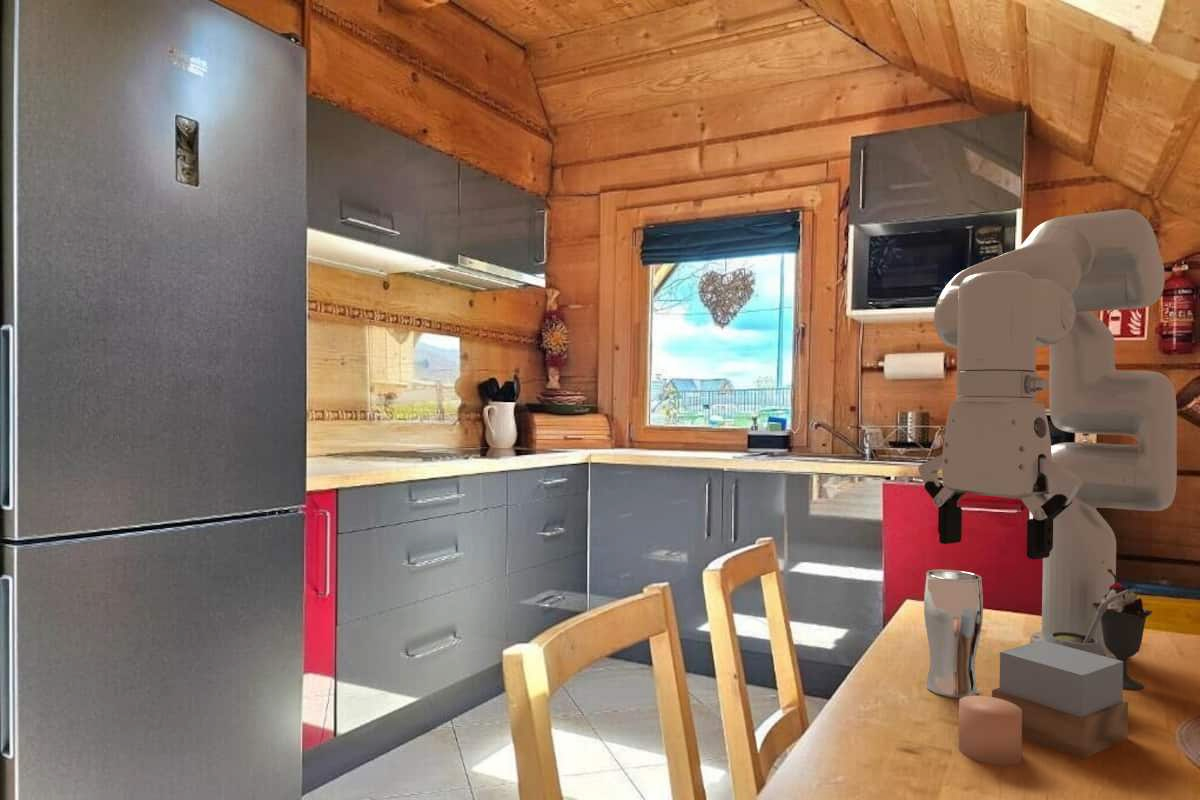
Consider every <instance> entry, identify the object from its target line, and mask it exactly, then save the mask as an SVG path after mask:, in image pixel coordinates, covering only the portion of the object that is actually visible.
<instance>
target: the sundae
mask: <svg viewBox="0 0 1200 800" xmlns="http://www.w3.org/2000/svg"><path fill="white" fill-rule="evenodd" d="M1107 571H1108V572H1110V573H1111V574H1112V573H1113V572H1112V569H1107ZM1112 575H1113V576H1114V579H1115V583H1114V584H1113V585H1111V586H1110V587H1109V589H1110V591H1109V592H1108V593H1107V594H1106V595H1105V596H1104V597H1103V599H1102V602H1101V603H1103V602H1104V601H1105V600H1107V599H1108V598H1109V597H1111V596H1113V595H1116V594H1118V593H1120V592H1123V591H1125V590H1128V592H1127V593H1126V594H1124V595H1122V596H1120V597H1119V598H1117V599H1115V600H1114V601H1113V602H1111V603H1110V604H1109V605H1108V608H1107V610H1106V611H1105V613H1103V615H1102V617H1101V626H1102V634H1103V639H1104V644H1105V646H1106V647H1107V649H1108V650H1109V651H1110V652H1111V653H1112V654H1114V655H1115V657H1116V658H1117V660H1120V661H1123V690H1130V691H1131V690H1132V691H1133V690H1136V691H1137V690H1141V689H1143V688H1144V684H1143V683H1142V682H1140V681H1138V680H1136V679H1133V678H1131V676H1129V674H1128V667H1127V663H1128V662H1127V661H1128V659H1129V658H1131V657H1133V656H1135V655H1136V654H1137V653H1138V652H1139V651H1140V648H1141V645H1142V641H1143V636H1144V632H1145V631H1144V629H1145V625H1146V619H1147V617H1149V616H1150V615H1152V614H1153V610H1149V609H1148V610H1147V609H1146V608H1145V607H1144V606H1143V599H1142V598H1138V597H1137V595H1136V594H1135V593H1134V592H1133V591H1132V590H1131V589H1128V588H1126V587H1124V586H1123V585H1122V583H1119V582H1118V578H1117V575H1116V576H1115V574H1114V573H1113V574H1112ZM1101 603H1093V604H1092V605H1093V607H1095V608H1096V609H1097V610H1098V608H1099V606H1100V604H1101Z"/></svg>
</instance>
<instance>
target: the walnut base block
mask: <svg viewBox="0 0 1200 800" xmlns="http://www.w3.org/2000/svg"><path fill="white" fill-rule="evenodd" d="M999 688H1000V687H998V688H994V689H991V697H994V698H999V699H1002V700H1006V701H1008V702H1011V703H1013V704H1015V705H1017V706H1018V707H1020V708H1021V710H1022V738H1024V739H1027V740H1029V741H1033V742H1035V743H1037V744H1041V745H1044V746H1046V747H1050V748H1052V749H1055V750H1057V751H1060V752H1062V753H1065V754H1068V755H1070V756H1073V757H1077V758H1079V759H1082V760H1085V759H1088V758H1089V757H1091V756H1094V755H1095V754H1098V753H1099V752H1101V751H1104V750H1105V749H1108V748H1110V747H1112V746H1114V745H1116V744H1118V743H1120V742H1122V741H1124V740H1126V739H1128V733H1129V732H1128V731H1129V730H1128V726H1129V725H1128V724H1129V723H1128V721H1129V716H1128V714H1129V701H1128V700H1124V699H1123V701H1122V702H1120V703H1117V704H1115V705H1112V706H1110V707H1108V708H1105V709H1103V710H1100V711H1098V712H1095V713H1093V714H1090V715H1088V716H1085V717H1083V718H1081V717H1078V716H1075V715H1072V714H1069V713H1065V712H1062V711H1059V710H1056V709H1053V708H1050V707H1047V706H1044V705H1041V704H1038V703H1035V702H1032V701H1029V700H1026V699H1023V698H1020V697H1017V696H1014V695H1011V694H1008V693H1005V692H1001V691H999Z"/></svg>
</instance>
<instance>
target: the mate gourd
mask: <svg viewBox="0 0 1200 800" xmlns="http://www.w3.org/2000/svg"><path fill="white" fill-rule="evenodd" d="M1127 592H1128V590H1125V591H1123V592H1120V593H1118V594H1116V595H1113V596H1111V597H1109V598H1108V599H1107V600H1105V601H1104V602H1103V603H1101V604H1100V606H1099V608H1098V612H1097V615H1096V617H1095V619H1094V621H1093V623H1092V626H1091V628H1090V630H1089V632H1088V634H1087V636H1086V635H1083V634H1078V633H1071V632H1054V633H1052V634H1050V635H1049V636H1048V637H1047V638H1046V640H1045V641H1047V642H1051V643H1055V644H1059V645H1062V646H1066V647H1070V648H1074V649H1078V650H1082V651H1085V652H1089V653H1093V654H1097V655H1101V656H1105V651H1104V650H1103V648H1102V647H1101V645H1100V644H1099V642H1098V641H1097V640H1096V639H1094V638H1092V636H1093V634H1094V632H1095V630H1096V628H1097V625H1098V623H1099V621H1100V619H1101V617H1102V615H1103V613H1105V611H1106V610H1107V608H1108V605H1109V604H1110V603H1111V602H1113V601H1114V600H1115V599H1117V598H1119V597H1120V596H1122V595H1124V594H1126V593H1127Z"/></svg>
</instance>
